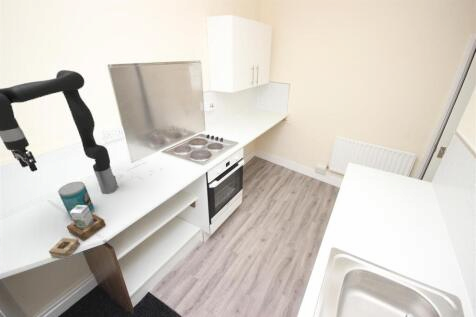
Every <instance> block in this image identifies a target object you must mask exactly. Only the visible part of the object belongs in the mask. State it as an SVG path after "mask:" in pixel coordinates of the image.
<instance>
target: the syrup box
mask: <svg viewBox="0 0 476 317" xmlns="http://www.w3.org/2000/svg"><path fill="white" fill-rule="evenodd" d="M70 214H71V216H72V218H73V219H72V218H71V219H72V220H73V222H75V224H76V226H77V228H79V229H80V230H84V229H85V228H87V227H88V226H90V225H91V224H93V223H94V220H93V217H92V215H91V213H90V210H89V208H88V206H87V205H76V206H75V207H74V208H73V209H72V210H71V211H70Z"/></svg>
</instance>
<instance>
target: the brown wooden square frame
mask: <svg viewBox="0 0 476 317" xmlns="http://www.w3.org/2000/svg"><path fill="white" fill-rule="evenodd" d="M91 215H92V217H93V220H94V223H93V224H91V225H90V226H88V227H87V228H85V229H84V230H80V229H79V228H77V226H76V224H75V222H74V221H73V222H71V223H70V224H68V225H66V228H67V231H68V233H70V234H71V235H72V236H75V237H76V238H77V239H78V240H81V241H84V242H85V241H86V240H87V239H89V238H90V237H92V236H93V235H95V233H97V232H98V231H100V230H101V229H103V228H104V227H106V222H105V219H104V218H102V217H101V216H98V215H96V214H94V213H93V212H92V213H91ZM102 227H103V228H102ZM99 229H100V230H99ZM97 230H98V231H97ZM96 231H97V232H96Z"/></svg>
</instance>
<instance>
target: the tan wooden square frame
mask: <svg viewBox="0 0 476 317" xmlns="http://www.w3.org/2000/svg"><path fill="white" fill-rule="evenodd" d="M79 240H80V239H79V238H69V237H62V238H61V239H59V241H58V242H56V243H55V245H54V246H52V247H51V248H50V250H48V253H49V254H50V256H51V257H52V256H53V257H55V258H62V259H68V258H69V257H70V256H71V255H72V254H73V253H74V251H76V250H77V249H78V247H79V246H80V245H81V243H80V241H79Z"/></svg>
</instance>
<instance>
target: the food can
mask: <svg viewBox="0 0 476 317" xmlns="http://www.w3.org/2000/svg"><path fill="white" fill-rule="evenodd" d="M57 193H58V195H59V197H60V199H61V201H62V203H63V205H64V208H65V209H66V211H67V214H68V216H69V218H71V219H72V220H73V218H72V216H71V214H70V211H71V210H72V209H73V208H74V207H75V206H76V205H87V206H88V208H89V210H90V213H92V214H93V213H94V211H95V210H94V209H95V206H94V203H93V202H92V199H91V197H90V193H89V192H88V190H87V187H86V184H85V183H84V182H83V181H73V182H69V183H66V184H64V185H62V186H61V187H60V188H59V189H58V190H57Z"/></svg>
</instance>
